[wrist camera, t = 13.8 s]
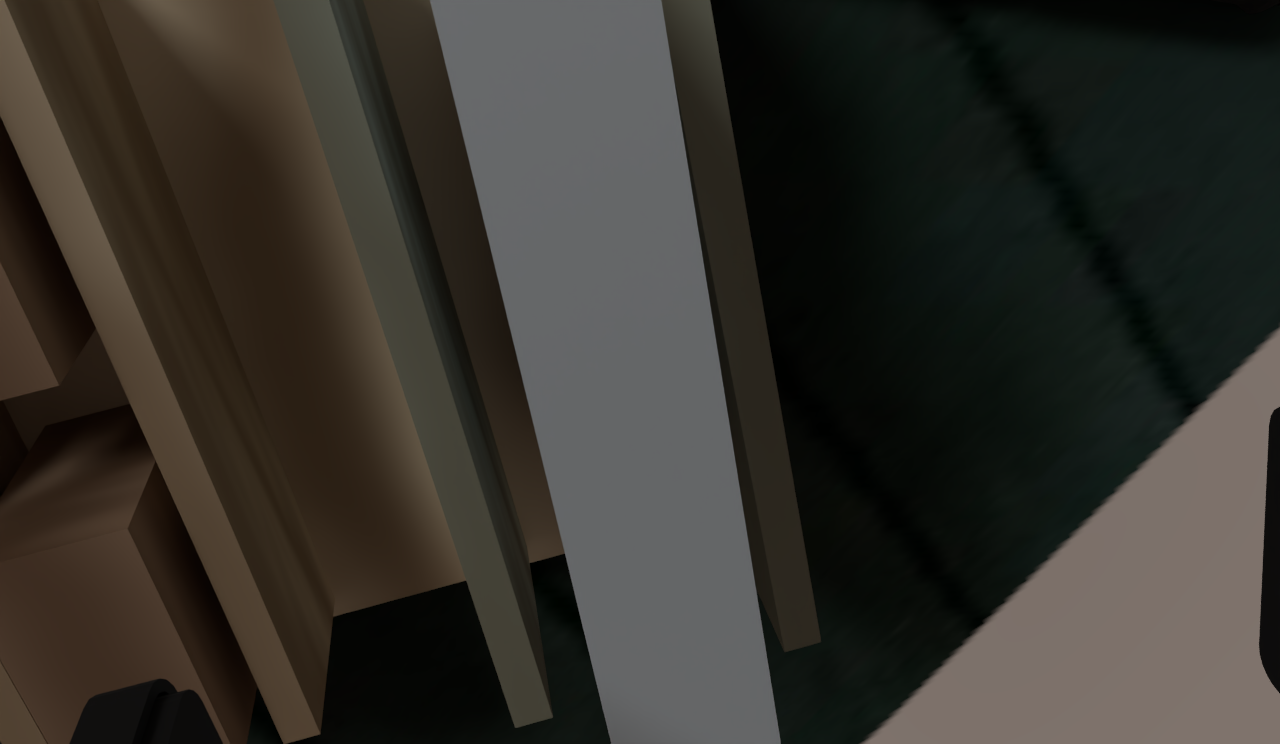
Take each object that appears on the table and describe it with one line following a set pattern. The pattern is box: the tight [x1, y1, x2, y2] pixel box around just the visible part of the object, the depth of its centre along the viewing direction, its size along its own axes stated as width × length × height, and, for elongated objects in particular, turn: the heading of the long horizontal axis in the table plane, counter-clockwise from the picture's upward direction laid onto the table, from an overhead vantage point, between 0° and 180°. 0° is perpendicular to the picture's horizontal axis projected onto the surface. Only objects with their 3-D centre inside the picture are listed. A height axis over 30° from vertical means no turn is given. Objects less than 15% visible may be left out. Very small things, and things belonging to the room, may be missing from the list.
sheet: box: [430, 0, 781, 744], centre depth 20 cm, size 2×12×15 cm, turn 10°
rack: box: [0, 0, 821, 744], centre depth 24 cm, size 19×17×8 cm
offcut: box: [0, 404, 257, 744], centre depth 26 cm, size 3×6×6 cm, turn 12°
